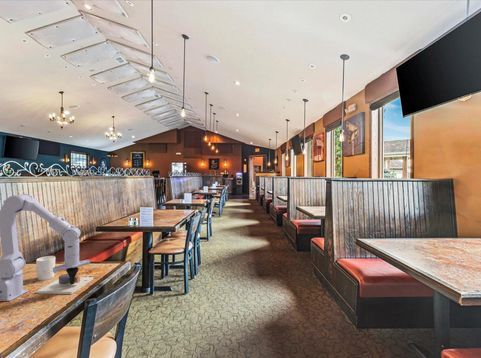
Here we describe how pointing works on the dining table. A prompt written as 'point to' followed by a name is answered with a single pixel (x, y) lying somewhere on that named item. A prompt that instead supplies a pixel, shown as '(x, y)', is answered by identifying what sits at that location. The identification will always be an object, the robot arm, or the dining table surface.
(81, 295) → the dining table surface
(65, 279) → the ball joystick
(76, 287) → the joystick base
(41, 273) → the white cup
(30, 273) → the dining table surface
